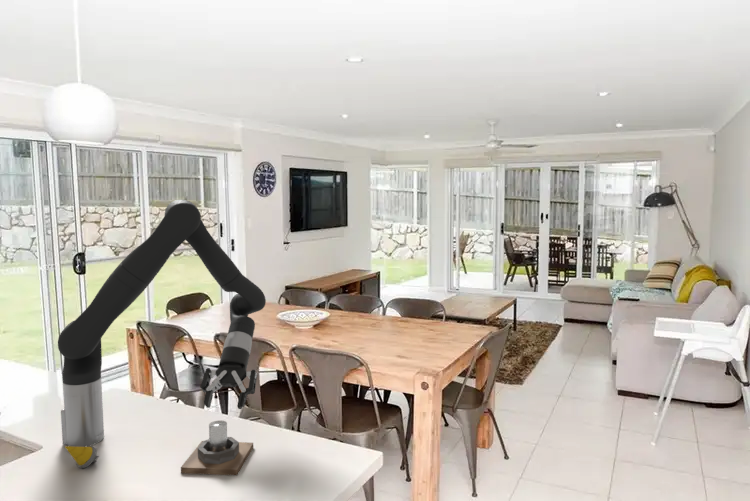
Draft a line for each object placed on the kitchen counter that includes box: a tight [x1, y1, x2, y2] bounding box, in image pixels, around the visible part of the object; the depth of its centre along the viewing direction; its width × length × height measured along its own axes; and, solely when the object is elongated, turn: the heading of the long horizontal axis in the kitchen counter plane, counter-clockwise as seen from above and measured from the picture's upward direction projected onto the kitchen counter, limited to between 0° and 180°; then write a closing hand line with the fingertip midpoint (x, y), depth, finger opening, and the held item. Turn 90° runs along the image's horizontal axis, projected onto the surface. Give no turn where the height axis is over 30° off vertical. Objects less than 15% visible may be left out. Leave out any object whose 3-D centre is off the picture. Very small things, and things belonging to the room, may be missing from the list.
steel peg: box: [208, 420, 228, 452], centre depth 139 cm, size 4×4×8 cm
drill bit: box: [64, 445, 100, 469], centre depth 135 cm, size 5×5×10 cm
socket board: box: [180, 436, 254, 476], centre depth 139 cm, size 14×14×4 cm
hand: (223, 407), depth 143 cm, fingers open, 8 cm apart
